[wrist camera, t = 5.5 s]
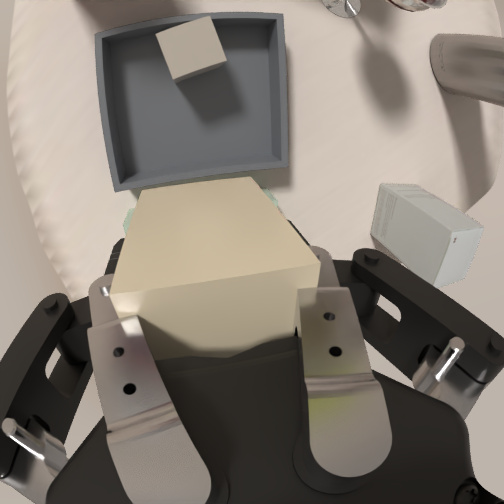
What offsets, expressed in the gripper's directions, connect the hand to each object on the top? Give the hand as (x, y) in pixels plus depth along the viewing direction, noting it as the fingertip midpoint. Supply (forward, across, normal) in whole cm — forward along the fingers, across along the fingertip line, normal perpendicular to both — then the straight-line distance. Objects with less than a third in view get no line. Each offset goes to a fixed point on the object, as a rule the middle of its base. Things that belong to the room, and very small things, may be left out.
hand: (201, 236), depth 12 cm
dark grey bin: (+16, -1, -6) cm, 17 cm away
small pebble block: (+15, 0, -10) cm, 18 cm away
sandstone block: (0, 0, 0) cm, 0 cm away
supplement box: (+16, -26, +8) cm, 31 cm away
